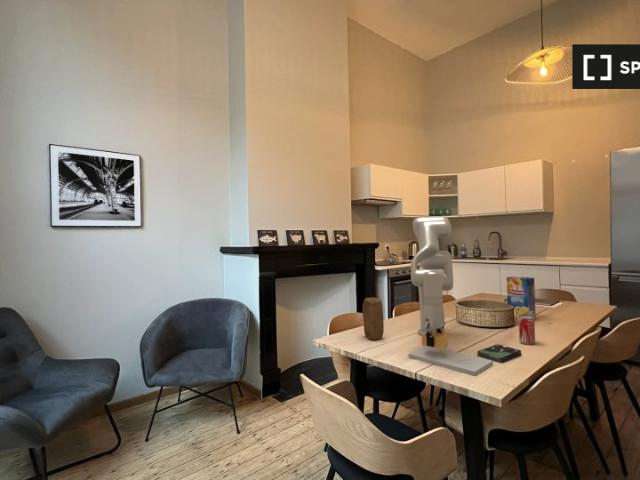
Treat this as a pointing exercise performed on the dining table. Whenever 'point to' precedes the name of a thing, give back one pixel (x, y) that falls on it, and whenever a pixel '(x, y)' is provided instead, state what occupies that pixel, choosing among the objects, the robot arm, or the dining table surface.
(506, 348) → the disk drive
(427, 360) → the board
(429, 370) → the dining table surface
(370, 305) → the block
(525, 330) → the soda can
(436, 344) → the block
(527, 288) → the juice carton
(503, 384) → the dining table surface
